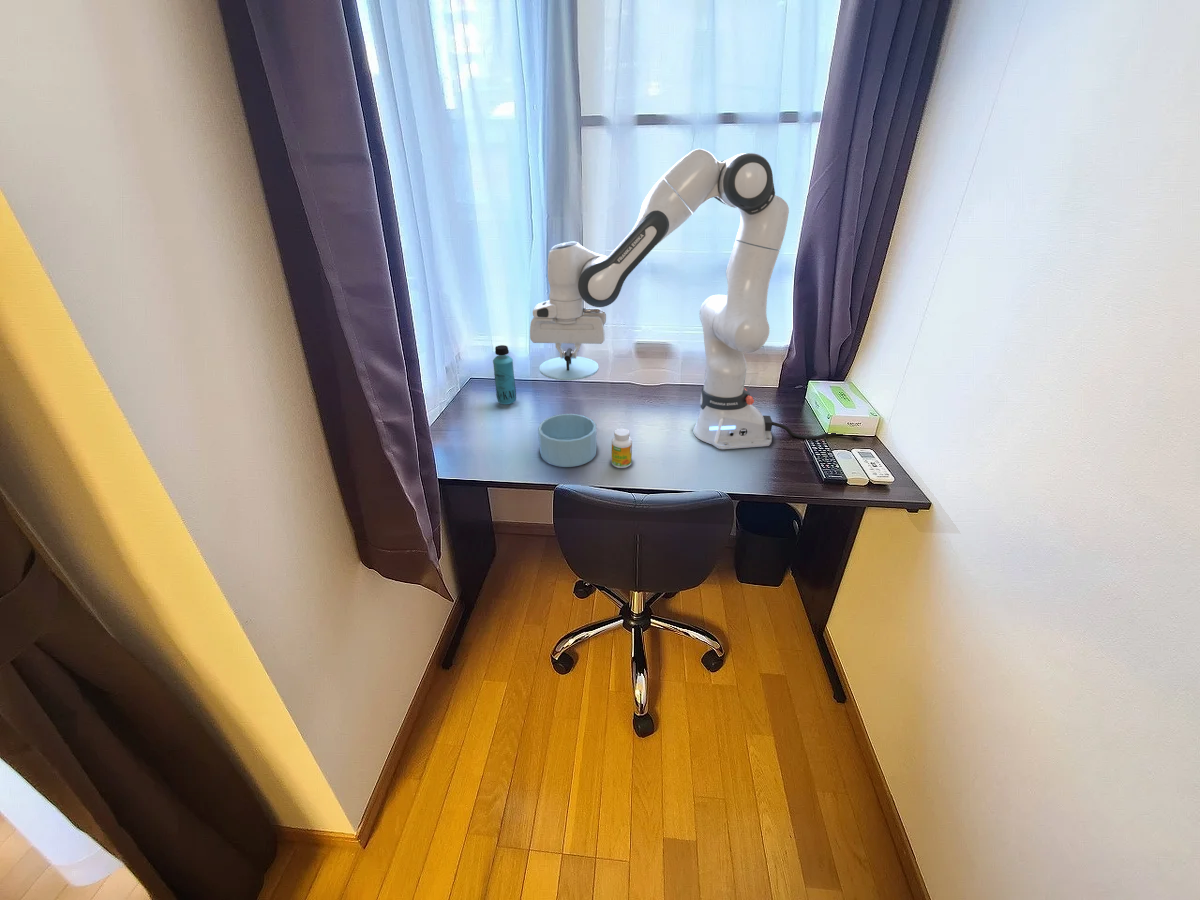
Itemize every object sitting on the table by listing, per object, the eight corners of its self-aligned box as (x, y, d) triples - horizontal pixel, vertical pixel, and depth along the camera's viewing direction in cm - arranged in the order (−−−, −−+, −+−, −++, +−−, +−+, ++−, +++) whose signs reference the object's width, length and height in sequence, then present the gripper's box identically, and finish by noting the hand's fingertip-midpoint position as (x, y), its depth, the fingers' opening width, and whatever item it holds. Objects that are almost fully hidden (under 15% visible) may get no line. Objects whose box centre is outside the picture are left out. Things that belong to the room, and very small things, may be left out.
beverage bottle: (499, 399, 170) (492, 342, 160) (519, 400, 170) (513, 343, 160) (495, 408, 165) (488, 350, 154) (515, 408, 165) (509, 350, 154)
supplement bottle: (610, 467, 134) (610, 436, 129) (612, 457, 139) (613, 426, 134) (630, 469, 133) (631, 437, 128) (632, 458, 138) (633, 427, 133)
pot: (598, 438, 147) (597, 414, 143) (594, 467, 134) (593, 442, 130) (545, 437, 148) (543, 413, 144) (536, 466, 135) (533, 440, 131)
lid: (600, 360, 149) (600, 342, 146) (596, 383, 134) (596, 363, 131) (544, 359, 149) (543, 341, 147) (535, 382, 135) (533, 362, 132)
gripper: (606, 305, 135) (606, 354, 142) (530, 304, 136) (534, 353, 143) (605, 311, 130) (605, 362, 137) (526, 311, 131) (530, 361, 138)
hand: (568, 357), depth 140 cm, fingers closed on lid
